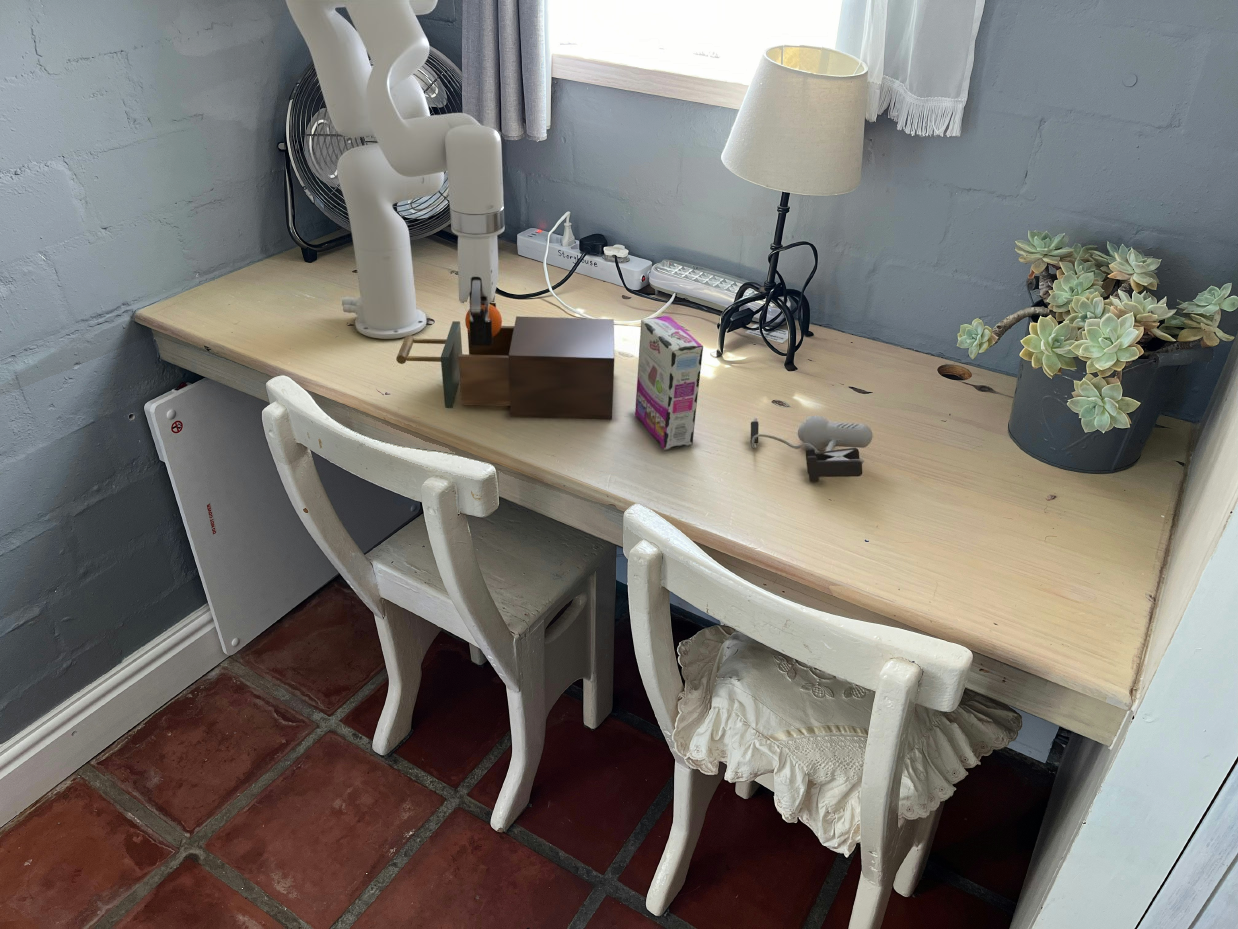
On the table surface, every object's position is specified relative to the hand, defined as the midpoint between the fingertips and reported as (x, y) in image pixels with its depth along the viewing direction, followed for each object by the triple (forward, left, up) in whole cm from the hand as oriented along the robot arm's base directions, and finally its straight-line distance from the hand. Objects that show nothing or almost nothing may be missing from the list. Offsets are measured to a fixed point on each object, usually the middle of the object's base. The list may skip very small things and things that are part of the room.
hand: (484, 334), depth 134 cm
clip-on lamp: (+50, -7, -11) cm, 52 cm away
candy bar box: (+29, -4, -11) cm, 31 cm away
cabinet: (+12, +2, -11) cm, 16 cm away
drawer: (-2, 0, -10) cm, 10 cm away
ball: (0, 0, +2) cm, 2 cm away
